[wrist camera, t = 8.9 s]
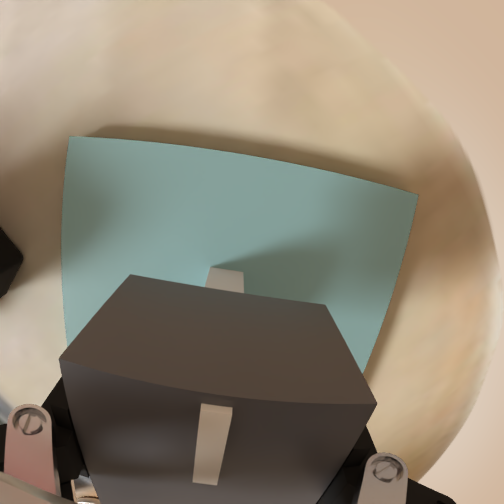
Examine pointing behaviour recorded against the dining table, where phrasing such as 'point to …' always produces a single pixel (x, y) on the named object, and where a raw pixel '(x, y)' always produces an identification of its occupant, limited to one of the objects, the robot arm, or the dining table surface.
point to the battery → (8, 262)
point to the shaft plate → (229, 230)
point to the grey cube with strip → (212, 396)
